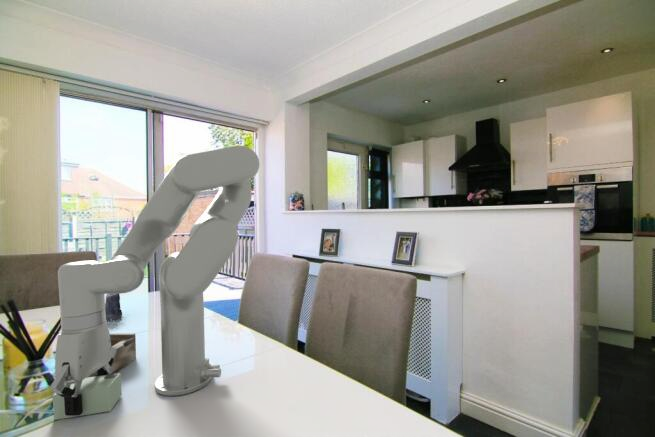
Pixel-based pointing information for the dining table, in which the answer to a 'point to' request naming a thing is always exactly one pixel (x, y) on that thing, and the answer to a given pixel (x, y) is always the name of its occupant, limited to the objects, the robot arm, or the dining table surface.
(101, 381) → the grey-green block
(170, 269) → the robot arm
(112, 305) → the rock
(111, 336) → the brown wooden box
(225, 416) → the dining table surface
